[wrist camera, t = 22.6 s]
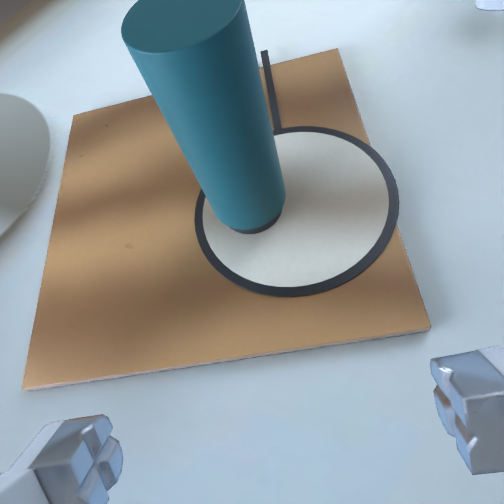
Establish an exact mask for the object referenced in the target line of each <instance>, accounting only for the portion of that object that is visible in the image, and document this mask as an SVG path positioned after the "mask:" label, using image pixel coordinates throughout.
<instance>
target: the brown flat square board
mask: <svg viewBox="0 0 504 504" xmlns="http://www.w3.org/2000/svg"><path fill="white" fill-rule="evenodd" d="M261 57H262V63H263V67H261V68H259V71H260V75H261V80H262V84H263V89H264V93H265V98H266V103H267V107H268V112H269V116H270V121H271V126H272V130H273V135H274V139H275V144H276V149H277V153H278V158H279V162H280V167H281V171H282V176H283V181H284V185H285V190H286V198H285V202H284V205H283V208H282V212H281V215H280V217H279V219H278V220H277V221H276V223H275V224H274V225H272V226H271V227H270V228H268V229H267V230H265V231H263V232H260V233H256V234H242V233H238V232H236V231H234V230H232V229H231V228H230V227H229V226H227V225H225V224H223V223H222V222H221V221H220V220H219V219H218V218H217V216H216V215H215V213H214V211H213V209H212V207H211V205H210V203H209V201H208V200H207V198H206V196H205V194H204V192H203V190H202V188H201V186H200V184H199V182H198V181H197V179H196V177H195V175H194V173H193V171H192V169H191V167H190V165H189V164H188V162H187V160H186V158H185V156H184V154H183V152H182V150H181V148H180V146H179V145H178V143H177V141H176V139H175V137H174V135H173V133H172V131H171V129H170V128H169V126H168V124H167V122H166V120H165V118H164V116H163V114H162V112H161V110H160V109H159V107H158V105H157V103H156V101H155V99H154V97H153V95H151V96H147V97H143V98H139V99H135V100H132V101H128V102H124V103H120V104H116V105H112V106H108V107H104V108H100V109H96V110H92V111H88V112H84V113H80V114H76V115H74V116H73V121H72V126H71V131H70V137H69V142H68V147H67V152H66V157H65V163H64V168H63V173H62V178H61V184H60V189H59V194H58V199H57V205H56V210H55V215H54V220H53V226H52V231H51V236H50V241H49V247H48V252H47V257H46V262H45V268H44V273H43V278H42V283H41V288H40V294H39V299H38V304H37V309H36V315H35V320H34V325H33V330H32V336H31V341H30V346H29V351H28V357H27V362H26V367H25V372H24V378H23V383H22V388H21V389H22V390H27V391H33V390H39V389H46V388H53V387H59V386H66V385H73V384H79V383H86V382H93V381H99V380H106V379H113V378H119V377H126V376H133V375H139V374H146V373H153V372H159V371H166V370H173V369H179V368H186V367H193V366H199V365H206V364H213V363H219V362H226V361H233V360H239V359H246V358H253V357H259V356H266V355H273V354H279V353H286V352H293V351H299V350H306V349H313V348H319V347H326V346H333V345H339V344H346V343H353V342H360V341H366V340H373V339H380V338H386V337H393V336H400V335H406V334H413V333H420V332H426V331H429V330H430V329H431V324H430V321H429V318H428V315H427V312H426V309H425V306H424V303H423V300H422V297H421V294H420V291H419V288H418V285H417V283H416V280H415V277H414V274H413V271H412V268H411V265H410V262H409V259H408V256H407V253H406V250H405V247H404V244H403V241H402V238H401V235H400V232H399V229H398V226H397V223H396V222H397V218H398V212H399V195H398V189H397V185H396V181H395V179H394V177H393V174H392V172H391V170H390V168H389V167H388V165H387V164H386V162H385V161H384V160H383V158H382V157H381V156H380V155H379V154H378V153H377V152H376V151H375V150H374V149H372V148H371V146H370V143H369V140H368V137H367V134H366V131H365V128H364V125H363V122H362V119H361V116H360V113H359V110H358V107H357V104H356V101H355V98H354V95H353V92H352V89H351V86H350V84H349V81H348V78H347V75H346V72H345V69H344V66H343V63H342V60H341V57H340V54H339V51H338V48H336V49H332V50H328V51H324V52H320V53H316V54H313V55H309V56H305V57H301V58H297V59H293V60H289V61H285V62H281V63H277V64H273V65H270V62H269V56H268V51H267V50H265V51H261Z"/></svg>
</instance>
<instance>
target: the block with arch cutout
mask: <svg viewBox="0 0 504 504" xmlns="http://www.w3.org/2000/svg"><path fill="white" fill-rule="evenodd" d="M475 5H476V7H478V8H479V9H483V10H504V0H476V3H475Z"/></svg>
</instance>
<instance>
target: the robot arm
mask: <svg viewBox="0 0 504 504" xmlns="http://www.w3.org/2000/svg"><path fill="white" fill-rule="evenodd" d="M430 369H431V375H432V377H433V378H434V380H435V381H436V383H437V386H436V388H435V389H434V398H435V404H436V407H437V410H438V414H439V417H440V419H441V421H442V423H443V426H444V427H445V429H446V431H447V433H448V434H450V435H451V436H453V437H455V438H456V444H457V450H458V452H459V453H460V455H461V457H462V458H463V460H464V462H465V463H466V465H467V467H468V468H469V470H470V472H471V473H472V475H477V474H487V473H496V472H504V348H503V347H501V346H493V347H488V348H484V349H479V350H475V351H471V352H466V353H460V354H455V355H449V356H444V357H439V358H433V359H431V360H430ZM112 429H113V426H112V424H111V422H110V420H109V418H108V417H107V416H105V415H103V414H102V415H95V416H89V417H82V418H75V419H69V420H62V421H56V422H51V423H49V424H47V425H45V426H44V427H43V428H42V430H41V431H40V432H39V433H38V435H37V436H36V437H35V438H34V439H33V441H32V442H31V443H30V444H29V446H28V447H27V448H26V449H25V450H24V452H23V453H22V454H21V455H20V456H19V458H18V459H17V460H16V461H15V463H14V464H13V465H12V466H11V467H10V469H9V470H8V471H7V472H6V473H1V474H0V504H107V502H108V500H109V496H108V492H107V491H108V490H109V489H110V488H111V487H112V486H113V485H114V484H115V483H117V481H118V479H119V476H120V474H121V471H122V464H123V455H122V449H121V446H120V444H119V441H117V440H116V439H115V438H113V437H112V436H111V435H110V434H111V432H112Z"/></svg>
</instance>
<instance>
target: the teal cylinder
mask: <svg viewBox="0 0 504 504" xmlns="http://www.w3.org/2000/svg"><path fill="white" fill-rule="evenodd" d="M121 34H122V38H123V40H124V42H125V44H126V46H127V48H128V50H129V52H130V54H131V56H132V57H133V59H134V61H135V63H136V65H137V67H138V69H139V71H140V73H141V74H142V76H143V78H144V80H145V82H146V84H147V86H148V88H149V90H150V92H151V93H152V95H153V97H154V99H155V101H156V103H157V105H158V107H159V109H160V110H161V112H162V114H163V116H164V118H165V120H166V122H167V124H168V126H169V128H170V129H171V131H172V133H173V135H174V137H175V139H176V141H177V143H178V145H179V146H180V148H181V150H182V152H183V154H184V156H185V158H186V160H187V162H188V164H189V165H190V167H191V169H192V171H193V173H194V175H195V177H196V179H197V181H198V182H199V184H200V186H201V188H202V190H203V192H204V194H205V196H206V198H207V200H208V201H209V203H210V205H211V207H212V209H213V211H214V213H215V215H216V216H217V218H218V219H219V220H220V221H221V222H222V223H223V224H225V225H227V226H229V227H230V228H231V229H232V230H234V231H236V232H238V233H242V234H256V233H260V232H263V231H265V230H267V229H268V228H270V227H271V226H272V225H274V224H275V223H276V221H277V220H278V219H279V217H280V215H281V212H282V208H283V205H284V202H285V198H286V190H285V185H284V181H283V176H282V171H281V167H280V162H279V158H278V153H277V149H276V144H275V139H274V135H273V130H272V126H271V121H270V116H269V112H268V107H267V103H266V98H265V93H264V89H263V84H262V80H261V75H260V71H259V66H258V61H257V57H256V52H255V48H254V43H253V38H252V34H251V29H250V25H249V20H248V16H247V11H246V6H245V2H244V0H138V1H137V2H136V3H135V4H134V5H133V6H132V7H131V9H130V10H129V11H128V13H127V14H126V16H125V18H124V20H123V23H122V27H121Z"/></svg>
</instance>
